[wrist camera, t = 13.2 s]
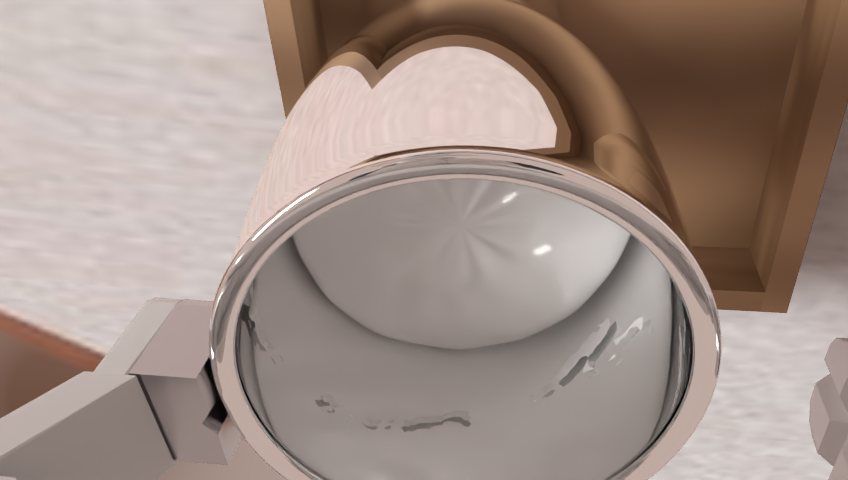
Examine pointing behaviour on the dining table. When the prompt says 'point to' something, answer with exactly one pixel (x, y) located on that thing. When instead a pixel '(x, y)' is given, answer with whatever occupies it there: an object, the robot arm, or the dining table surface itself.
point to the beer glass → (464, 265)
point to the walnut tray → (688, 113)
